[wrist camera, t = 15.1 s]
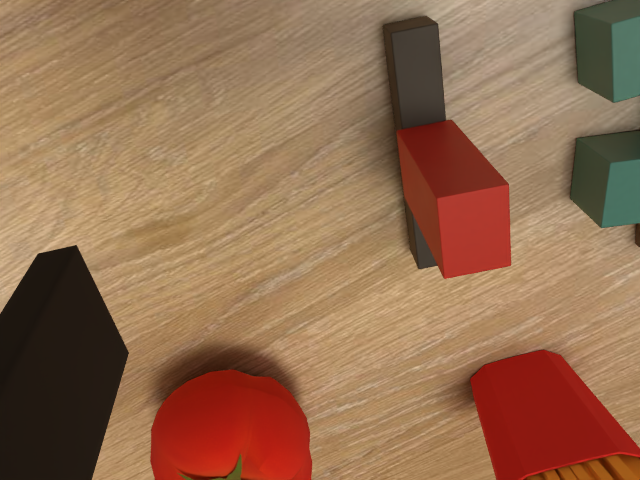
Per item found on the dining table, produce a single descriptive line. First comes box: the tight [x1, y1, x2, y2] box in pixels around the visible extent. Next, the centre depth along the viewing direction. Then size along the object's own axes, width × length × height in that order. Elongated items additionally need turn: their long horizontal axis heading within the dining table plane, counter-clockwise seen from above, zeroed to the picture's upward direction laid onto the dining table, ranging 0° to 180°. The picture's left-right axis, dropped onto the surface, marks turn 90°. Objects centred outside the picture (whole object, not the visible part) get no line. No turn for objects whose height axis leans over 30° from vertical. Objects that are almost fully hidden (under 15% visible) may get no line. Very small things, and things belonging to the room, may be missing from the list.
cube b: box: [570, 130, 640, 228], centre depth 35 cm, size 4×4×4 cm
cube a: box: [574, 0, 640, 103], centre depth 31 cm, size 4×4×4 cm
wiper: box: [383, 16, 511, 279], centre depth 30 cm, size 3×14×11 cm, turn 11°
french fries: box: [470, 350, 640, 480], centre depth 39 cm, size 9×4×13 cm, turn 105°
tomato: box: [150, 369, 312, 480], centre depth 40 cm, size 11×11×9 cm
